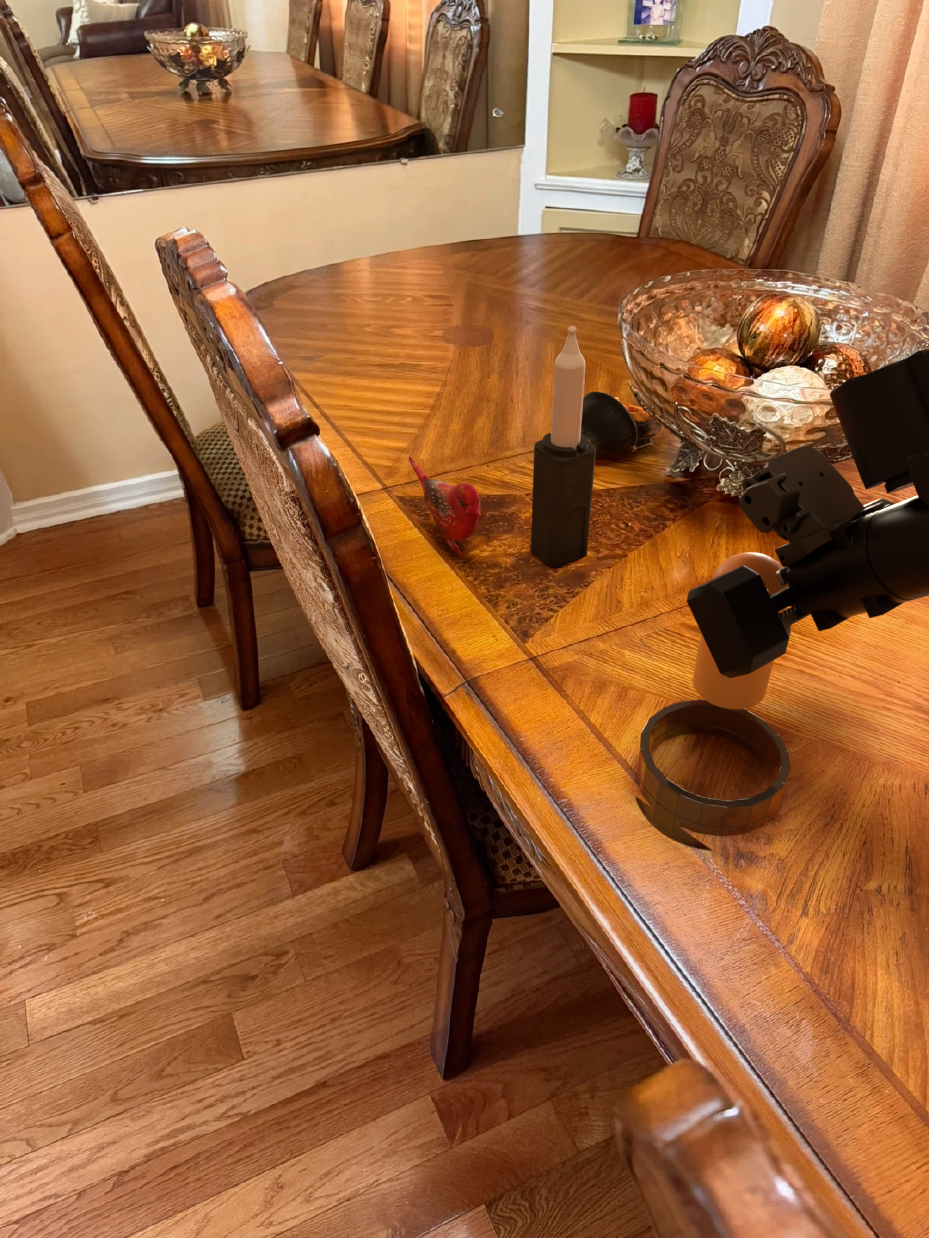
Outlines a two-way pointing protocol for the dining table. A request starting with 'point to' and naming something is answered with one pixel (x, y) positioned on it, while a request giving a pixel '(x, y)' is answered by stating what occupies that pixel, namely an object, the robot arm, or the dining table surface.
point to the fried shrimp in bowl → (616, 425)
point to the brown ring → (696, 810)
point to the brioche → (706, 673)
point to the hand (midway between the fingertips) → (729, 610)
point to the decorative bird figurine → (451, 506)
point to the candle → (563, 468)
